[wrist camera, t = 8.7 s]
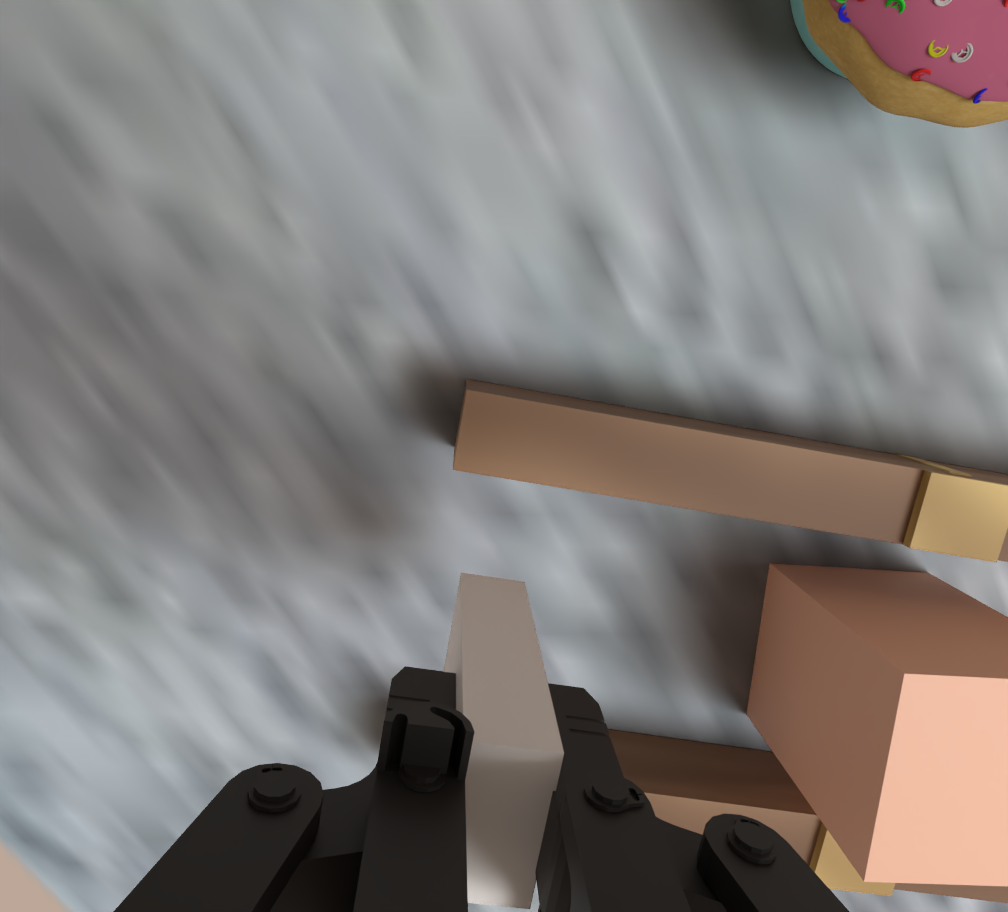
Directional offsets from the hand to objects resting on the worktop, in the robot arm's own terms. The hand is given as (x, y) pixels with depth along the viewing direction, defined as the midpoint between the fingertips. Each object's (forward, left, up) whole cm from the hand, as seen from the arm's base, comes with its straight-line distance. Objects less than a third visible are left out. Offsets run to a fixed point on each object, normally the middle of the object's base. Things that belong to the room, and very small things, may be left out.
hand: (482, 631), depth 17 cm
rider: (+1, +11, -5) cm, 12 cm away
